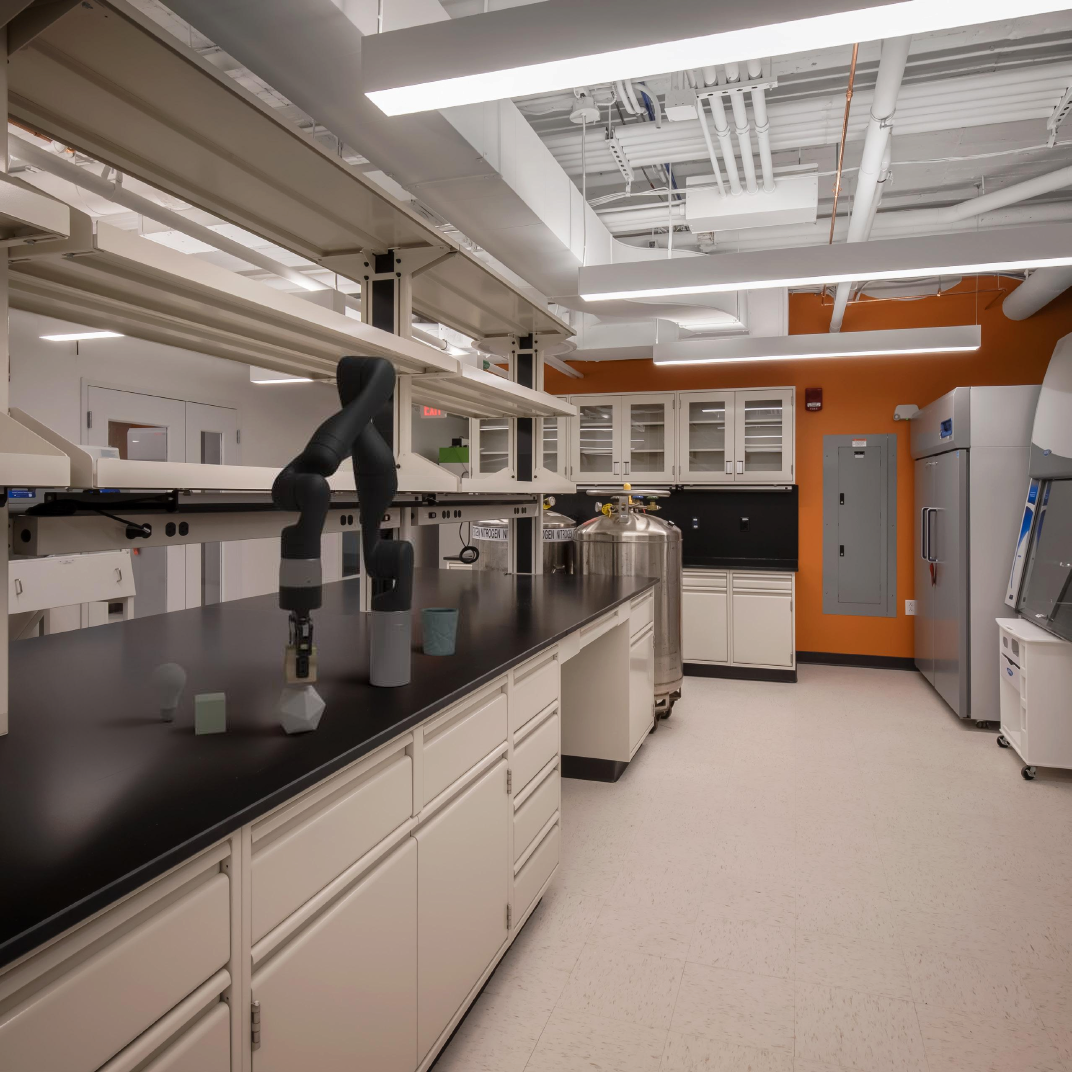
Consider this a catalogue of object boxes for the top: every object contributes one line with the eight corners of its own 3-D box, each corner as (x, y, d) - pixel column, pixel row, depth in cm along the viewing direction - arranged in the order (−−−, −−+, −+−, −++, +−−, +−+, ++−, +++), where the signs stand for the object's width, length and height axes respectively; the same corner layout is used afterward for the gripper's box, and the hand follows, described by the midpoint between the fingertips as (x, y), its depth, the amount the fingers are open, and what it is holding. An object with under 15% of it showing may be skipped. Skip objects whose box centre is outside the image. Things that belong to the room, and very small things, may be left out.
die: (318, 723, 143) (288, 683, 142) (342, 709, 138) (310, 668, 137) (288, 749, 137) (256, 708, 136) (312, 736, 132) (279, 693, 131)
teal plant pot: (414, 654, 204) (415, 610, 203) (431, 647, 213) (431, 606, 213) (448, 657, 201) (449, 613, 200) (463, 650, 210) (464, 608, 210)
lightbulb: (192, 720, 141) (191, 663, 140) (158, 727, 136) (158, 668, 136) (178, 713, 145) (178, 658, 144) (145, 720, 140) (144, 663, 140)
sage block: (195, 726, 137) (195, 694, 137) (224, 723, 140) (224, 692, 139) (195, 734, 133) (195, 701, 133) (225, 731, 135) (225, 699, 135)
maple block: (284, 677, 138) (284, 645, 138) (311, 674, 140) (312, 643, 140) (287, 683, 133) (287, 650, 133) (316, 681, 136) (316, 648, 135)
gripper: (328, 586, 131) (327, 681, 132) (315, 577, 144) (315, 664, 145) (283, 588, 128) (283, 685, 129) (274, 578, 141) (274, 667, 142)
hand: (300, 673), depth 137 cm, fingers closed on maple block, 5 cm apart
